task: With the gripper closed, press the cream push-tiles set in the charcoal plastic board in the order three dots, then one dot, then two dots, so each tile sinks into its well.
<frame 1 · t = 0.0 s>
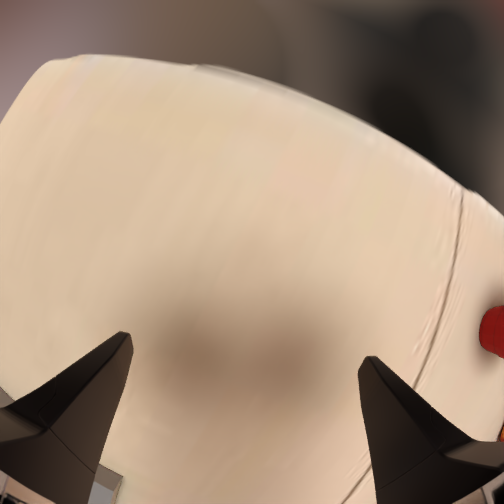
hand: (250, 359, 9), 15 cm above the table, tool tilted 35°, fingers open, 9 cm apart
plastic cup: (489, 328, 26), on the table
tile board: (46, 456, 20), on the table
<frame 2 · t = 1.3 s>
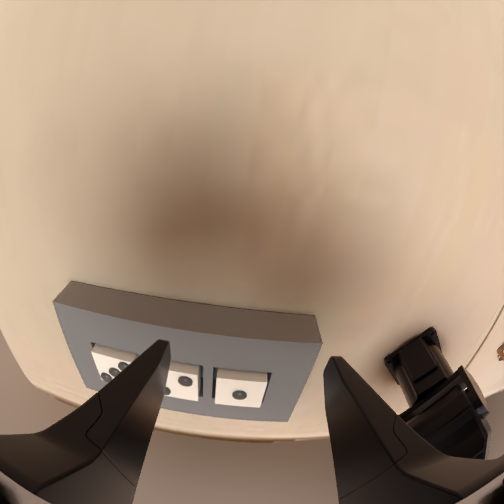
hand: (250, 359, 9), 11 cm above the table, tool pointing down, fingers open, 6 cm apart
tile two: (176, 378, 21), point 3 cm above the table, slide at 0.0 cm
tile three: (118, 365, 21), point 3 cm above the table, slide at 0.0 cm
tile board: (183, 351, 24), on the table
tile one: (239, 386, 21), point 3 cm above the table, slide at 0.0 cm
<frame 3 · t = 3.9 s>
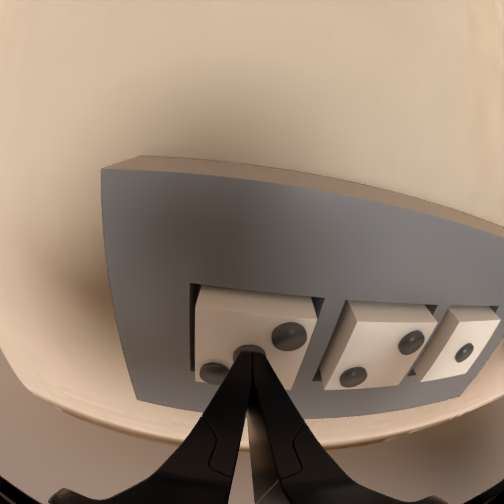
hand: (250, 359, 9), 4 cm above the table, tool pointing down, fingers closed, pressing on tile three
tile two: (376, 346, 11), point 3 cm above the table, slide at 0.0 cm
tile three: (249, 341, 10), point 3 cm above the table, slide at 0.0 cm, touching gripper
tile board: (354, 302, 14), on the table
tile one: (456, 342, 11), point 3 cm above the table, slide at 0.0 cm
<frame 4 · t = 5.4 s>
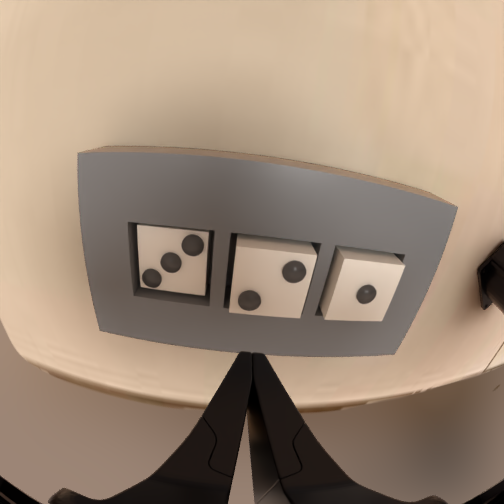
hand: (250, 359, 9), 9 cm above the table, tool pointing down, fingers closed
tile two: (270, 277, 15), point 3 cm above the table, slide at 0.0 cm
tile three: (174, 255, 16), point 2 cm above the table, slide at 1.3 cm
tile board: (266, 250, 18), on the table
tile one: (361, 285, 15), point 3 cm above the table, slide at 0.0 cm
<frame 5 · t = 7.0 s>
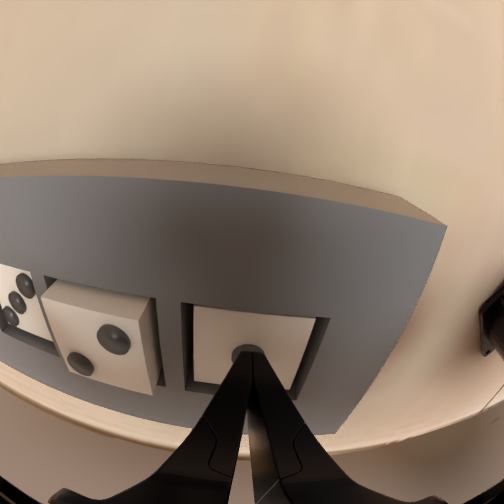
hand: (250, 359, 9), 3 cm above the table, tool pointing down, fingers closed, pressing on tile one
tile two: (104, 337, 9), point 3 cm above the table, slide at 0.0 cm
tile three: (26, 292, 10), point 2 cm above the table, slide at 1.3 cm
tile board: (133, 289, 12), on the table
tile one: (248, 340, 10), point 2 cm above the table, slide at 1.2 cm, touching gripper
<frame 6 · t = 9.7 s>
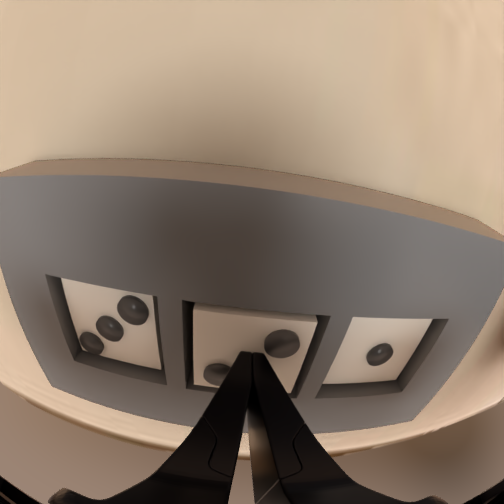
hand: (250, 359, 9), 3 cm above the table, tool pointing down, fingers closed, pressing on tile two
tile two: (249, 344, 10), point 3 cm above the table, slide at 0.9 cm, touching gripper
tile three: (117, 315, 10), point 2 cm above the table, slide at 1.3 cm
tile board: (249, 305, 12), on the table
tile one: (373, 340, 11), point 2 cm above the table, slide at 1.4 cm
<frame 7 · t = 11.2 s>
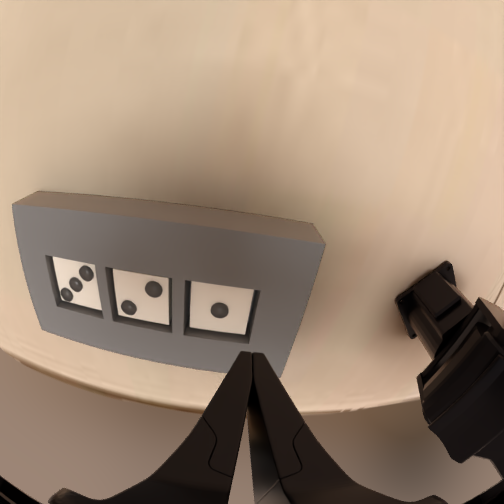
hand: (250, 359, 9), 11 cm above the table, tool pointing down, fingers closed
tile two: (144, 291, 18), point 2 cm above the table, slide at 1.3 cm
tile three: (81, 278, 18), point 2 cm above the table, slide at 1.3 cm
tile board: (152, 276, 20), on the table
tile one: (220, 302, 19), point 2 cm above the table, slide at 1.4 cm
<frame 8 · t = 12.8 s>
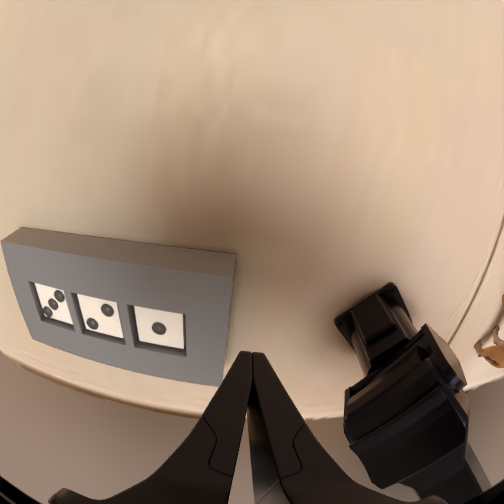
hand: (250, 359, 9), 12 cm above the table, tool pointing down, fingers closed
tile two: (103, 311, 21), point 2 cm above the table, slide at 1.3 cm
lion figurine: (498, 310, 25), on the table
tile three: (57, 299, 21), point 2 cm above the table, slide at 1.3 cm
tile board: (113, 297, 23), on the table
tile one: (161, 321, 21), point 2 cm above the table, slide at 1.4 cm
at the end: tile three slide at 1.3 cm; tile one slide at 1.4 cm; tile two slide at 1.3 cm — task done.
